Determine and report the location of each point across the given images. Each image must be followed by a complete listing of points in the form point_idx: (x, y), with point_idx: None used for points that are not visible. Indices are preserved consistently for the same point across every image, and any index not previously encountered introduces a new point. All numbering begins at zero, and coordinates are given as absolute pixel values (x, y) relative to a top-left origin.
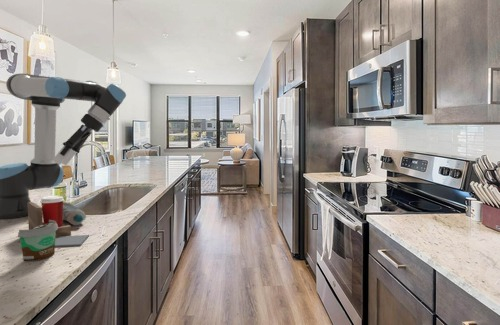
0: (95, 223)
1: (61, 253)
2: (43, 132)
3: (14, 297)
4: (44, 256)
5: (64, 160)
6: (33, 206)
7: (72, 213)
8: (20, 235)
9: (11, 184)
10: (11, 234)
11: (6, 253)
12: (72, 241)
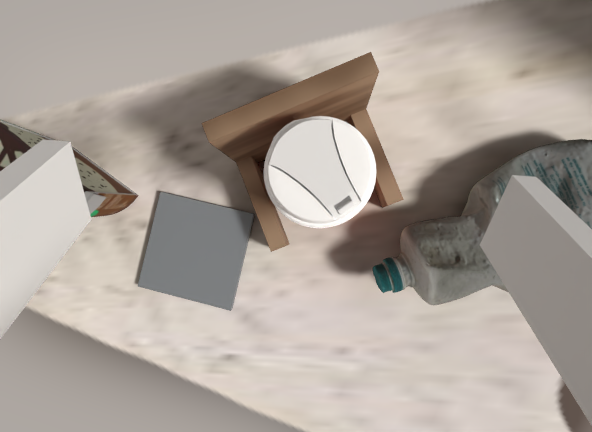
0: (411, 334)
1: (93, 235)
2: None
3: None
4: None
5: (519, 235)
6: (260, 99)
7: (412, 252)
8: None
9: None
10: (368, 50)
11: (157, 85)
12: (176, 260)
